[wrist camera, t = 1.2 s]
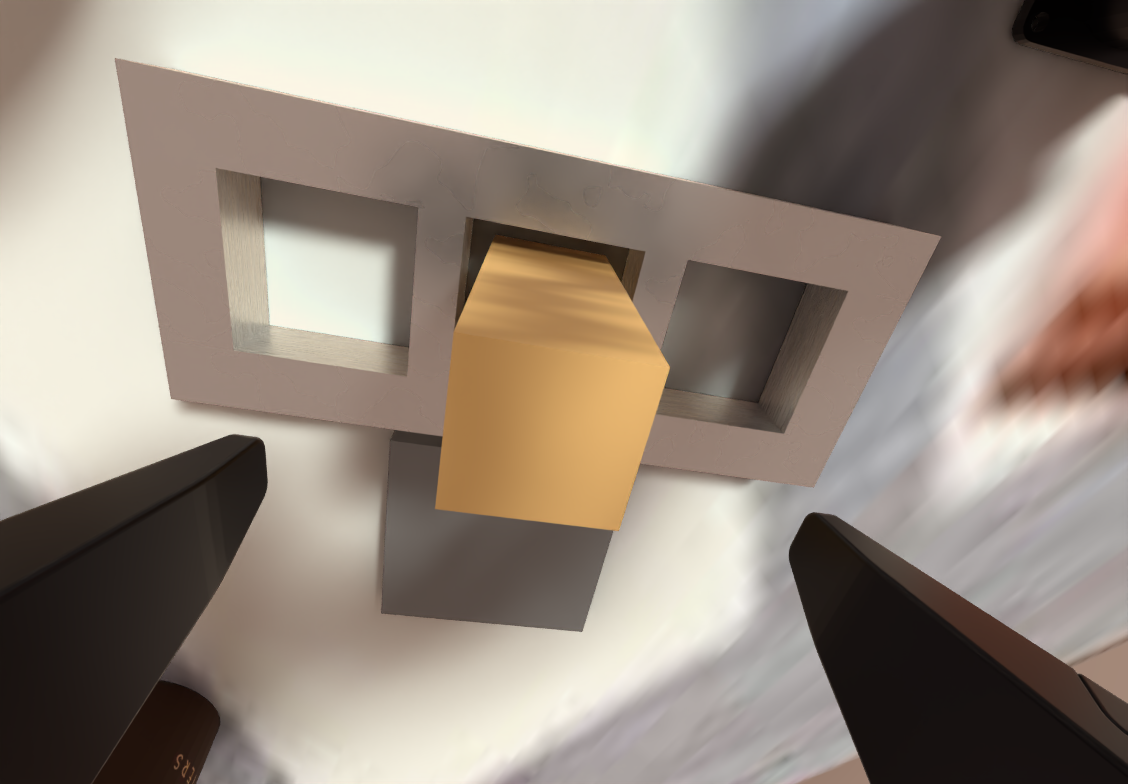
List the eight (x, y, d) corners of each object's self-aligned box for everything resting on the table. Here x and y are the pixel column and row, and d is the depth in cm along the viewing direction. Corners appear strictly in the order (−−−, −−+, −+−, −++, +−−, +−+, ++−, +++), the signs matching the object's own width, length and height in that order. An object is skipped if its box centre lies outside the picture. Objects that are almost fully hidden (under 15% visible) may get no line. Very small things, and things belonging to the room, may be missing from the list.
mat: (627, 459, 22) (631, 472, 21) (580, 615, 27) (582, 631, 26) (396, 427, 21) (390, 440, 20) (386, 596, 25) (381, 613, 25)
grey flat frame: (892, 224, 18) (941, 236, 16) (786, 452, 23) (813, 487, 20) (176, 69, 15) (115, 58, 13) (212, 369, 20) (171, 399, 17)
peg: (605, 255, 18) (670, 367, 9) (582, 355, 20) (618, 531, 11) (495, 234, 18) (453, 331, 9) (481, 339, 20) (435, 508, 11)
